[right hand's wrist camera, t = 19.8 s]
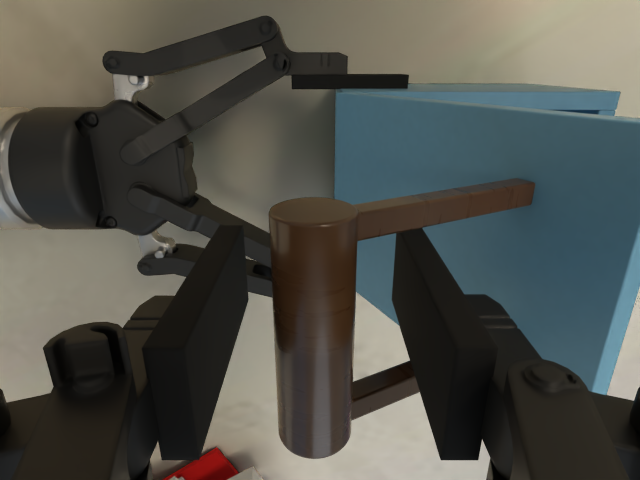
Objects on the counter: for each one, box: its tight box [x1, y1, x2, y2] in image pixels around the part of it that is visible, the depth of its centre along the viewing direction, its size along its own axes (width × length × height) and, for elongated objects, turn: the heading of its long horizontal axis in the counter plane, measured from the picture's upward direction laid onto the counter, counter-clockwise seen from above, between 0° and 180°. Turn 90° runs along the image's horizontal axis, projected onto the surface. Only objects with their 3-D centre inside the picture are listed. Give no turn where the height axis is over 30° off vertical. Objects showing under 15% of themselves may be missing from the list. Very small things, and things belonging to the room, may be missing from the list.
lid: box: [269, 92, 640, 459], centre depth 15 cm, size 14×10×9 cm
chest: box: [334, 84, 620, 199], centre depth 28 cm, size 14×10×11 cm
